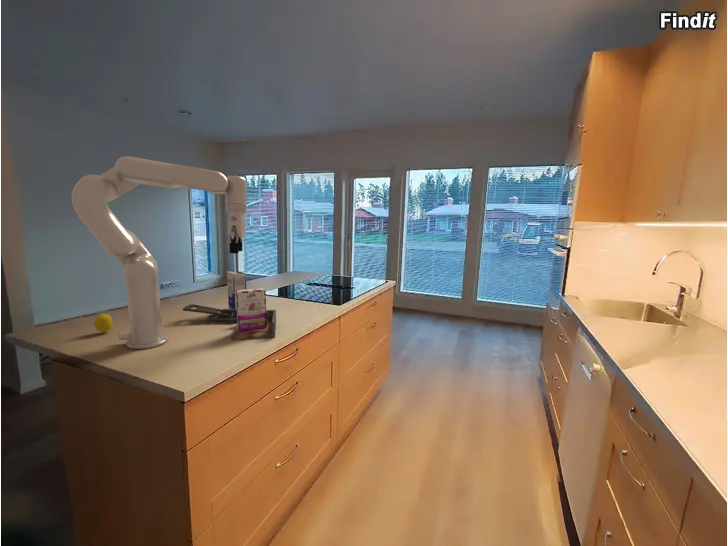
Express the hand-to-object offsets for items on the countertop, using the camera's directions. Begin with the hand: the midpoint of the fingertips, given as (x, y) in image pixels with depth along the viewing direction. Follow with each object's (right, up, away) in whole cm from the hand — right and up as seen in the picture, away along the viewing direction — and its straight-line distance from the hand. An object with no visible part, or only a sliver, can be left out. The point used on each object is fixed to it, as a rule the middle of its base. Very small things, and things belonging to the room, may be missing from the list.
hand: (236, 252), depth 130 cm
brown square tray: (+6, -32, +4) cm, 33 cm away
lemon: (-51, -32, -3) cm, 60 cm away
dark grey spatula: (-16, -30, +16) cm, 38 cm away
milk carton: (-12, -27, +32) cm, 44 cm away
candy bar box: (+5, -31, +3) cm, 32 cm away
